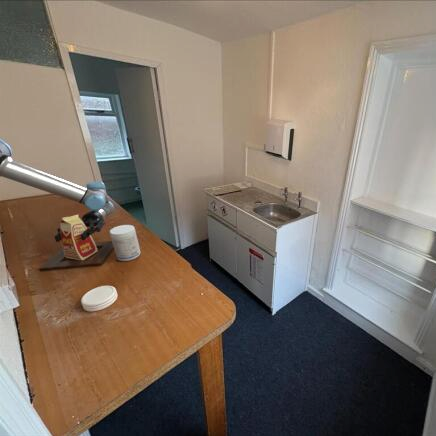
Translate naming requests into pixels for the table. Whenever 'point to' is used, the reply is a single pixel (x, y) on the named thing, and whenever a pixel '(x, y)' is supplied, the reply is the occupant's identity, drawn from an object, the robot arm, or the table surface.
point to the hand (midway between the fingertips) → (69, 238)
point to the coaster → (99, 298)
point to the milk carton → (76, 239)
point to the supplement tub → (125, 242)
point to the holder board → (98, 260)
